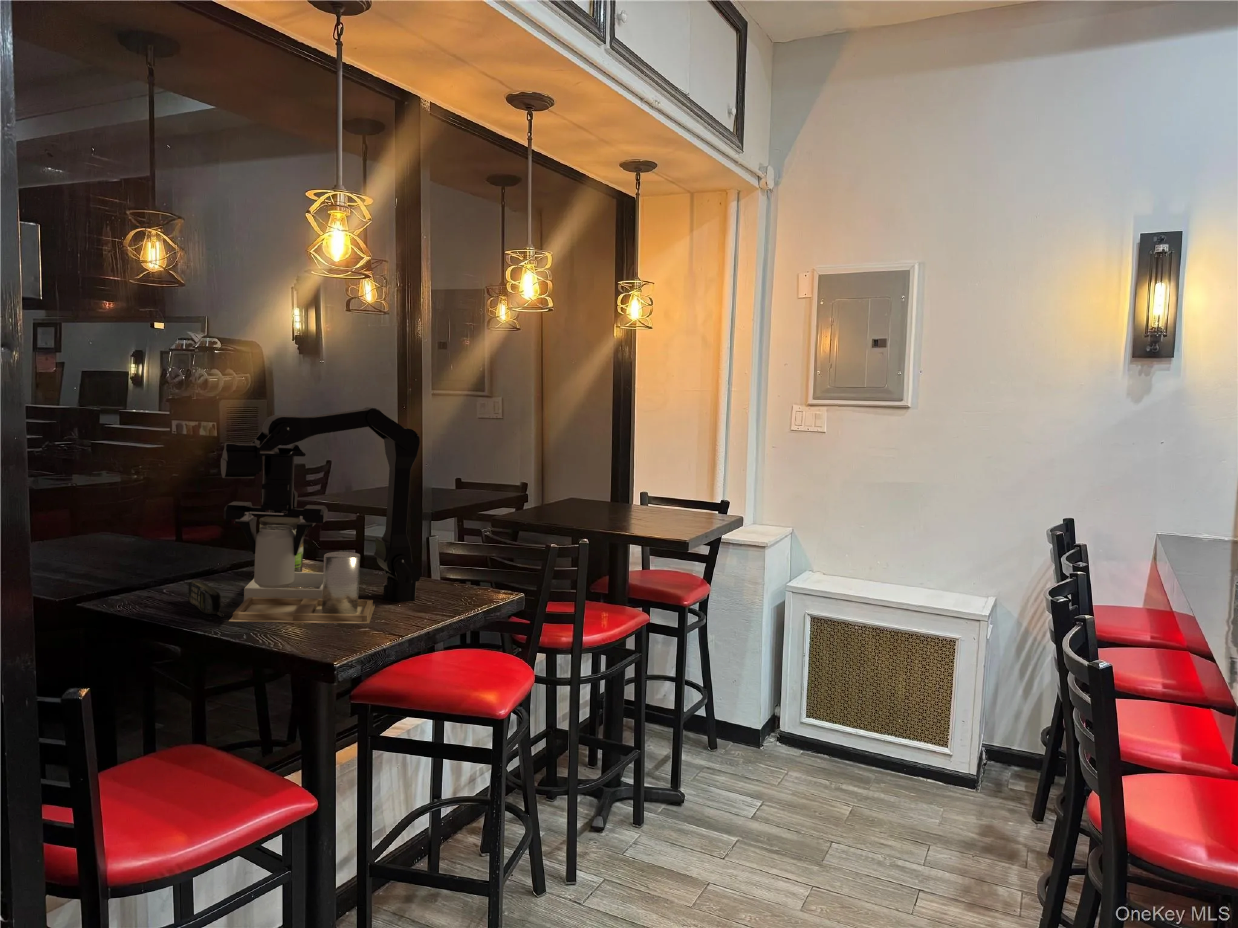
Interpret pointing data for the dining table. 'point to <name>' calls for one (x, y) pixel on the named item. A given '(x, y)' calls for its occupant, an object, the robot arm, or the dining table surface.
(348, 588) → the steel billet
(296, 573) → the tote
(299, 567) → the coffee can
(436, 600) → the dining table surface
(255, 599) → the wooden divided tray
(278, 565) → the can
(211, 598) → the mobile phone
